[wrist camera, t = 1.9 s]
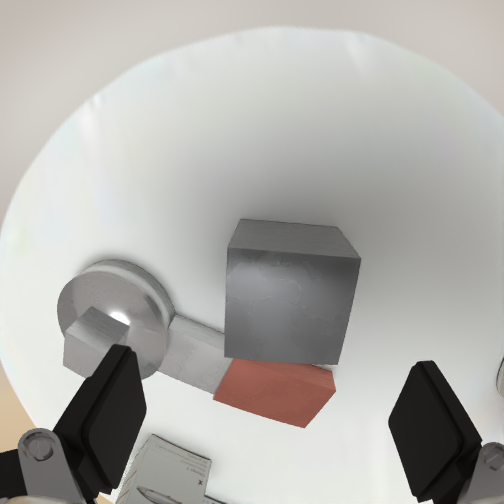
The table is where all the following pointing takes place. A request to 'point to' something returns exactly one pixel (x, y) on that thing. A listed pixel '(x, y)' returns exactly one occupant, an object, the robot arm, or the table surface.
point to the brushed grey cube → (288, 292)
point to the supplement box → (165, 476)
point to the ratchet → (178, 345)
